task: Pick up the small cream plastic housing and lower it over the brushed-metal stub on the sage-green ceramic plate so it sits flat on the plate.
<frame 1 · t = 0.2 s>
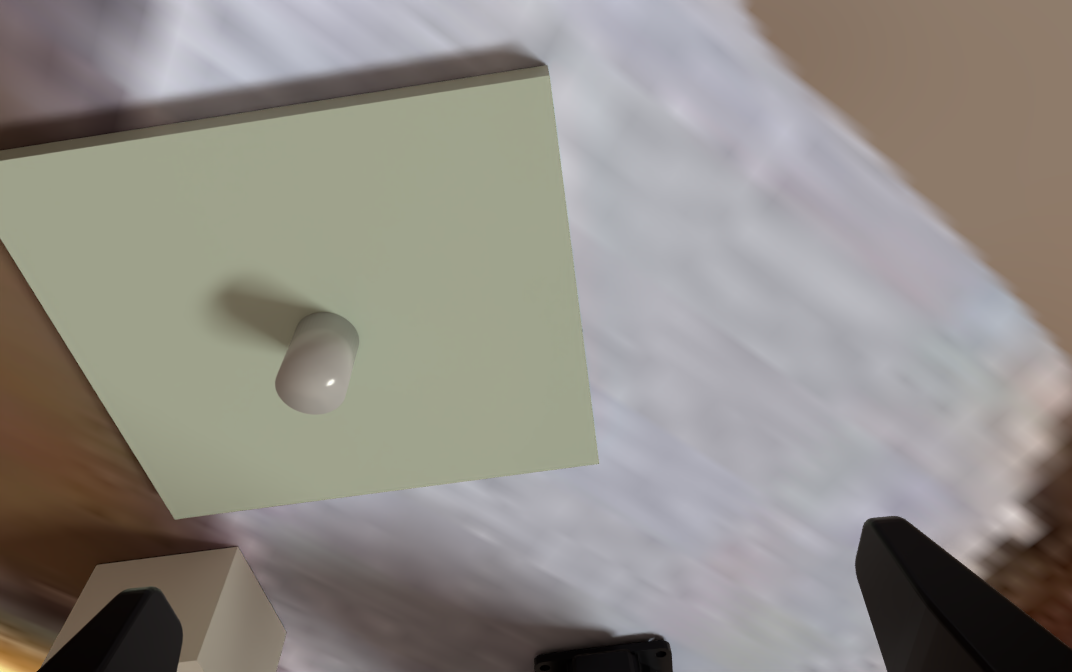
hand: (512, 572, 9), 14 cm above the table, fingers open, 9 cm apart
stub plate: (333, 321, 24), on the table
housing: (196, 600, 32), on the table
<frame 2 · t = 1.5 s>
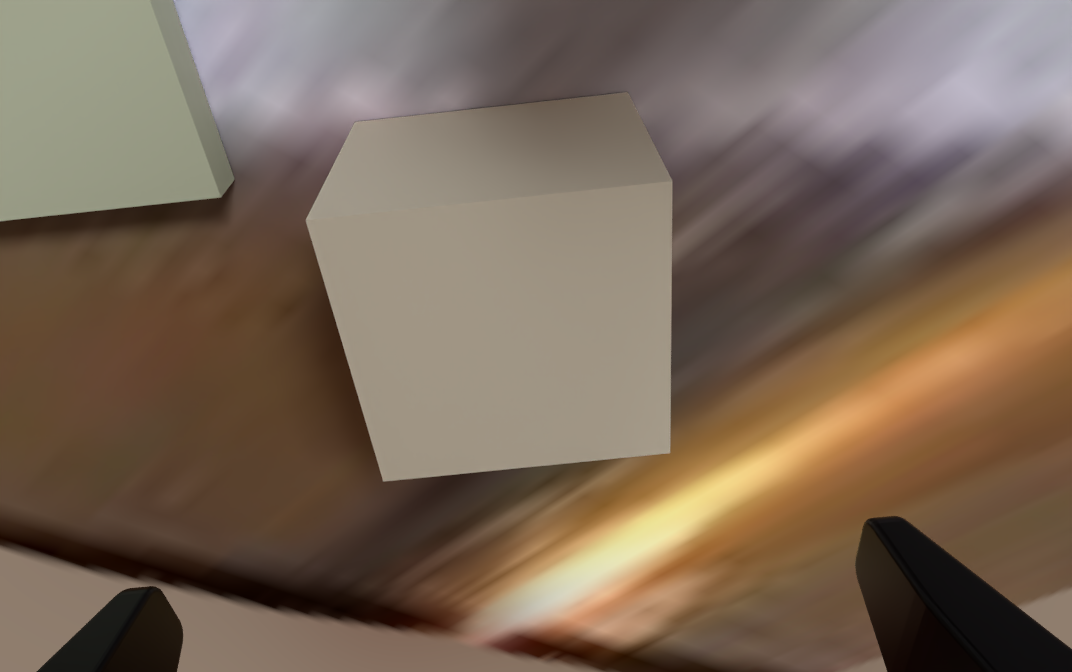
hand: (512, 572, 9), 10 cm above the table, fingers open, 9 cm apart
housing: (507, 230, 18), on the table
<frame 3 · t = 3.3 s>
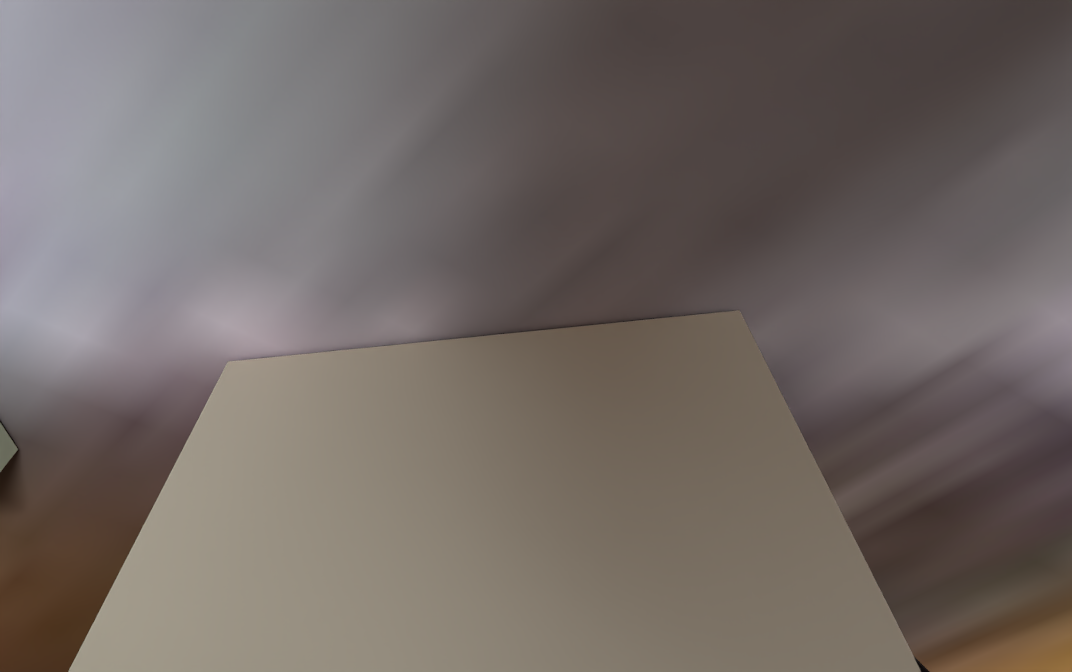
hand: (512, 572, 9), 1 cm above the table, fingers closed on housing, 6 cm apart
housing: (510, 512, 10), on the table, touching gripper
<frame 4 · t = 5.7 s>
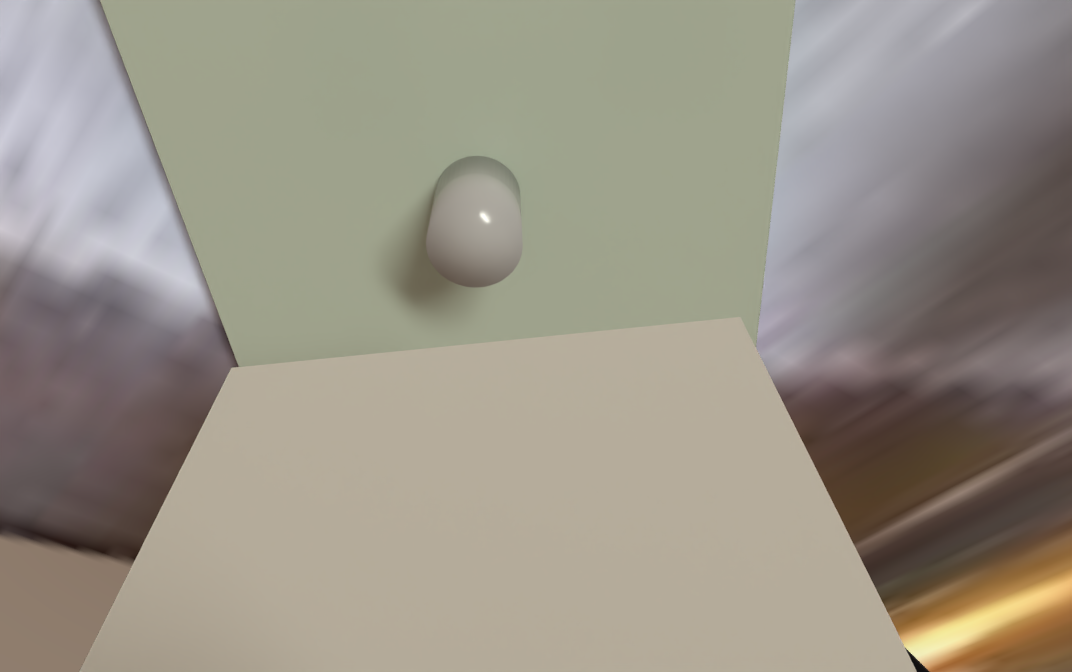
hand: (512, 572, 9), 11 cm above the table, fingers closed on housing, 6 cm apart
stub plate: (479, 180, 18), on the table
housing: (512, 517, 10), point 10 cm above the table, touching gripper
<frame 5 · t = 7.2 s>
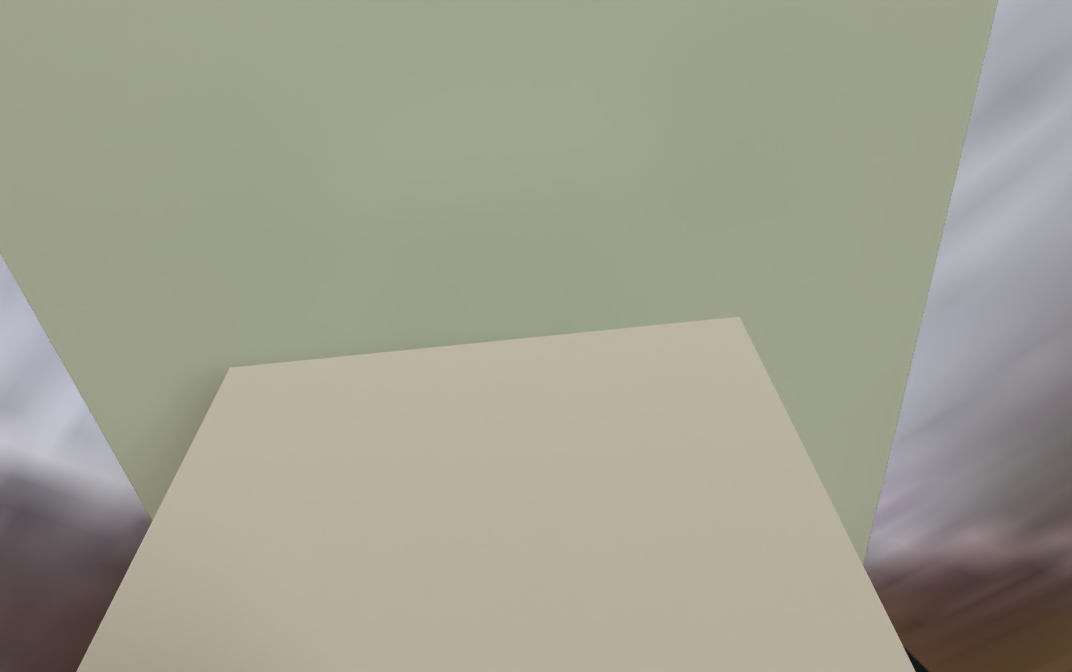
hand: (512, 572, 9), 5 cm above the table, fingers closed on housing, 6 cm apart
stub plate: (503, 354, 13), on the table
housing: (511, 517, 10), point 4 cm above the table, touching gripper
when the fingers open (3 cm above the table, at t = 8.6 s): housing stays where it is, resting on stub plate.
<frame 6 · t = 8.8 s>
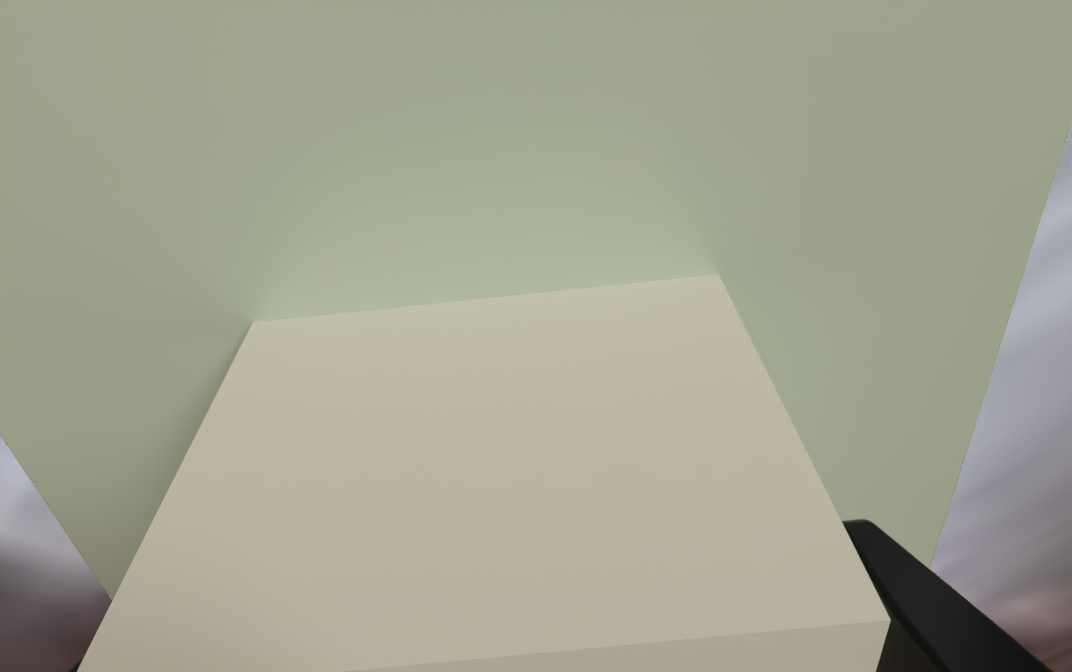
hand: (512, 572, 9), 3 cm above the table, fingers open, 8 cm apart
stub plate: (507, 419, 12), on the table
housing: (510, 467, 11), point 1 cm above the table, touching stub plate
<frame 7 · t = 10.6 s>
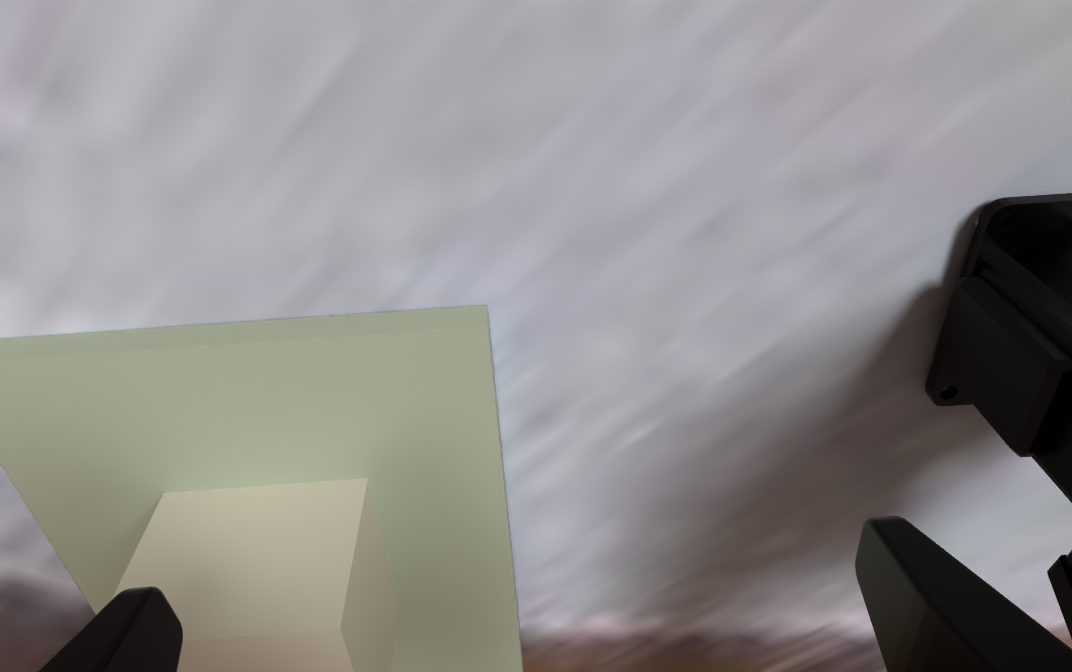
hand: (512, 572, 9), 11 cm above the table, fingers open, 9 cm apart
stub plate: (295, 526, 24), on the table
housing: (290, 552, 23), point 1 cm above the table, touching stub plate
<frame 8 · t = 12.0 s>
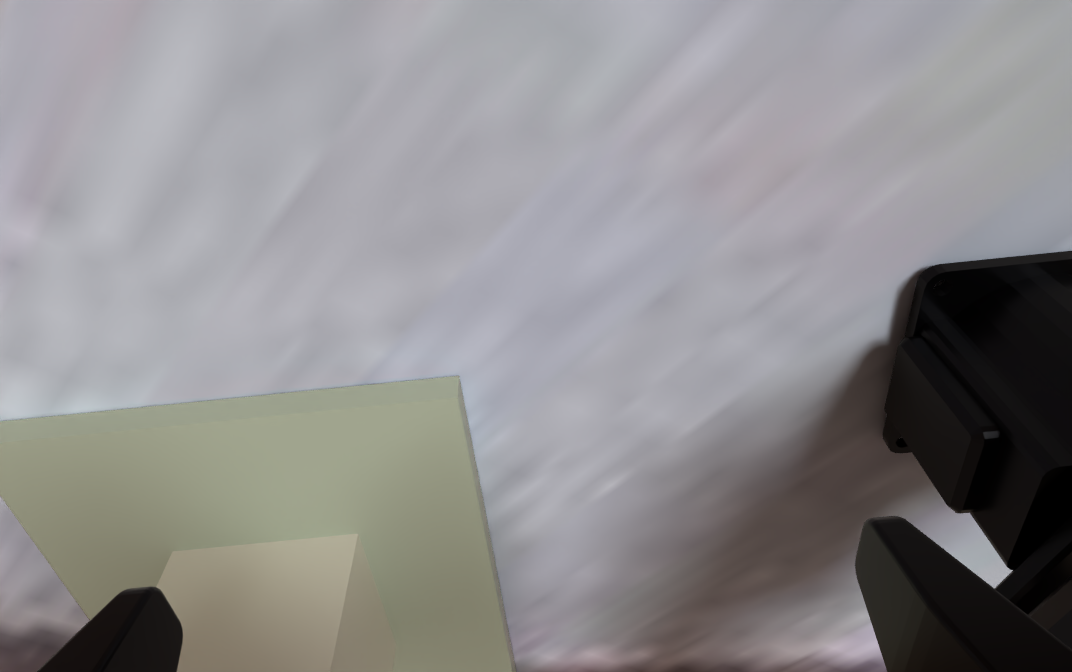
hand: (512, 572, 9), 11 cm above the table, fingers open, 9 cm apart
stub plate: (296, 575, 26), on the table
housing: (291, 600, 25), point 1 cm above the table, touching stub plate
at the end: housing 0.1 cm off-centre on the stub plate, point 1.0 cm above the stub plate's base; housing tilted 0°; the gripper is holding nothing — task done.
